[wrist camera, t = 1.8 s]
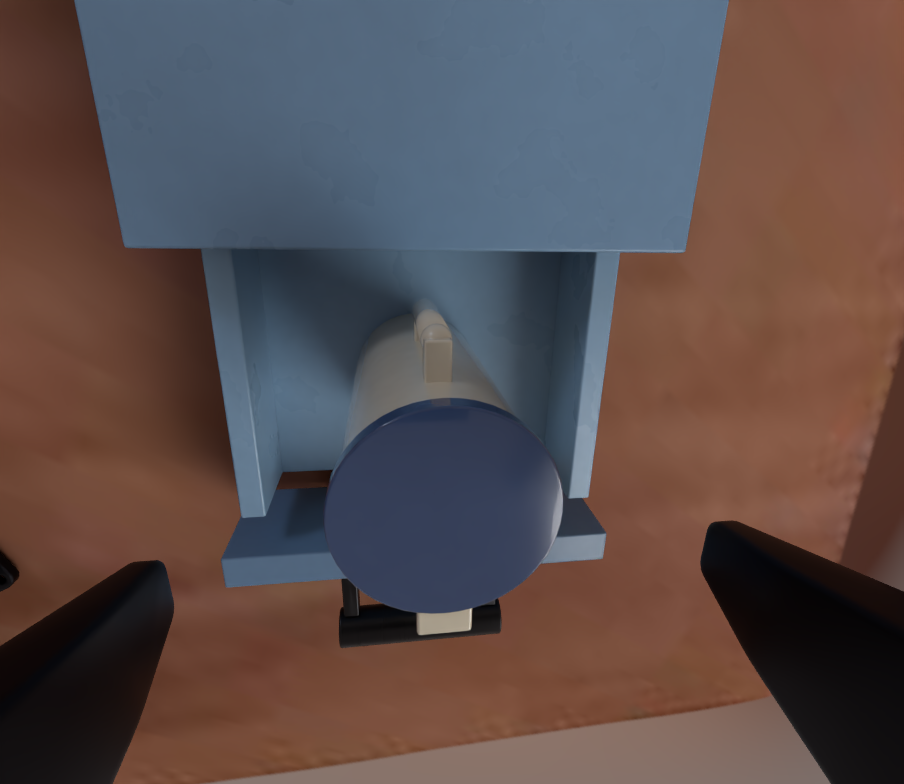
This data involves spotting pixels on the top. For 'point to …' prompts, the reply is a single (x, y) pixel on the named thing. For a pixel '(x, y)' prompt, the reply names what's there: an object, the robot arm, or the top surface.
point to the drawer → (332, 376)
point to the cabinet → (404, 122)
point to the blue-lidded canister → (436, 478)
